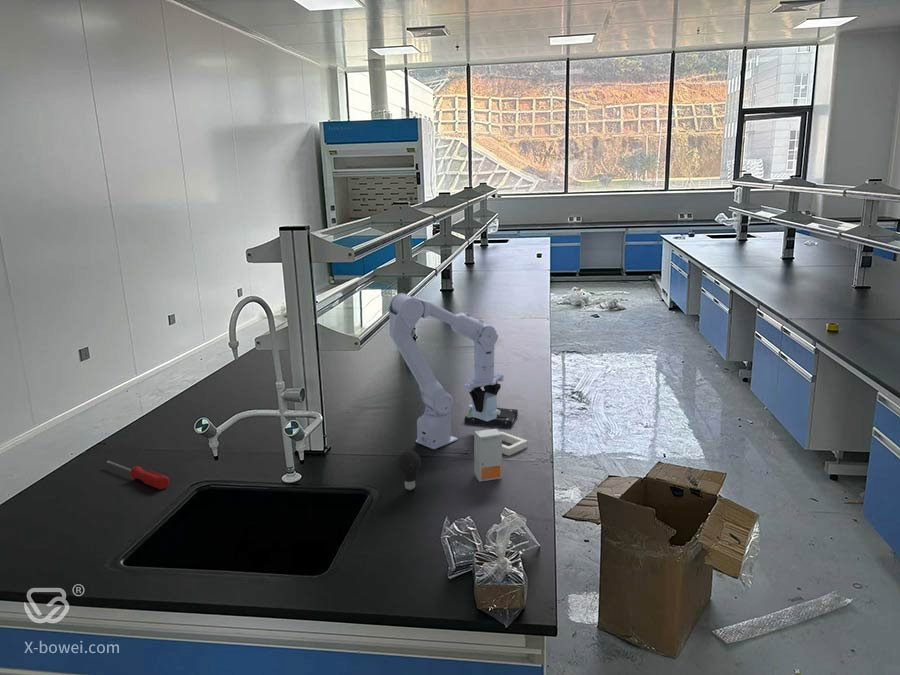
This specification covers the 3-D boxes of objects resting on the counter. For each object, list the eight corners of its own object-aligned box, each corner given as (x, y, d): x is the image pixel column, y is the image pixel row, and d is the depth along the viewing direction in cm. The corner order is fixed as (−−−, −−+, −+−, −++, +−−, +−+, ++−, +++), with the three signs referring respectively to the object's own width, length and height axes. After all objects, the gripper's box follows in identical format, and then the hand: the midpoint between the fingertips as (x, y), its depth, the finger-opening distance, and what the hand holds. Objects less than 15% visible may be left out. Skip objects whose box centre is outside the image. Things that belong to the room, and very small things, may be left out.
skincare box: (479, 482, 157) (479, 437, 154) (474, 475, 161) (473, 430, 158) (502, 479, 158) (502, 434, 155) (496, 471, 162) (496, 427, 159)
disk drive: (517, 417, 201) (472, 413, 205) (518, 409, 200) (472, 404, 204) (511, 429, 191) (464, 424, 195) (511, 420, 190) (464, 416, 194)
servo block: (492, 423, 182) (492, 398, 180) (467, 414, 189) (467, 390, 188) (501, 419, 185) (501, 394, 183) (476, 411, 192) (476, 387, 190)
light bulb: (393, 489, 154) (392, 451, 151) (411, 482, 158) (409, 444, 155) (409, 497, 150) (407, 458, 148) (426, 489, 154) (425, 451, 151)
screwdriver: (114, 464, 171) (112, 452, 170) (171, 486, 158) (169, 473, 157) (101, 470, 168) (99, 457, 168) (158, 492, 155) (156, 479, 154)
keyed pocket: (508, 455, 171) (508, 448, 171) (482, 445, 178) (482, 439, 178) (527, 447, 177) (527, 440, 176) (501, 437, 184) (501, 431, 183)
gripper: (476, 372, 176) (477, 419, 179) (511, 362, 185) (511, 406, 189) (458, 368, 181) (459, 413, 184) (493, 357, 190) (493, 400, 194)
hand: (484, 409), depth 187 cm, fingers closed on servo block, 4 cm apart
